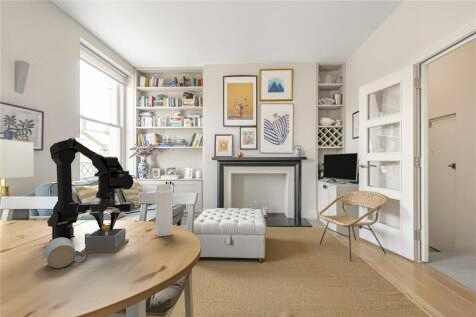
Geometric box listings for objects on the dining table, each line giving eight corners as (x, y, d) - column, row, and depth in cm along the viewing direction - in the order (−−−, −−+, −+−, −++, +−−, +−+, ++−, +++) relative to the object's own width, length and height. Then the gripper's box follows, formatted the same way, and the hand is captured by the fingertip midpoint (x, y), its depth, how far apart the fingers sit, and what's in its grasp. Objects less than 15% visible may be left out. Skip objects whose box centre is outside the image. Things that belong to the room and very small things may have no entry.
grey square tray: (76, 253, 85) (76, 237, 85) (93, 242, 97) (93, 228, 97) (116, 252, 86) (116, 236, 87) (128, 241, 98) (128, 227, 99)
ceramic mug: (46, 273, 70) (47, 246, 71) (43, 264, 76) (44, 239, 77) (88, 263, 78) (89, 238, 78) (83, 256, 84) (83, 233, 84)
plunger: (89, 247, 87) (89, 227, 88) (100, 239, 96) (100, 221, 96) (113, 246, 88) (113, 226, 88) (121, 239, 96) (122, 221, 96)
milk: (172, 234, 107) (172, 184, 108) (158, 237, 104) (158, 185, 105) (168, 231, 113) (169, 183, 113) (155, 233, 110) (155, 184, 110)
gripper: (67, 191, 83) (67, 237, 83) (124, 190, 85) (124, 235, 85) (85, 188, 94) (84, 228, 94) (135, 187, 96) (134, 227, 96)
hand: (106, 230), depth 92 cm, fingers closed on plunger, 3 cm apart
